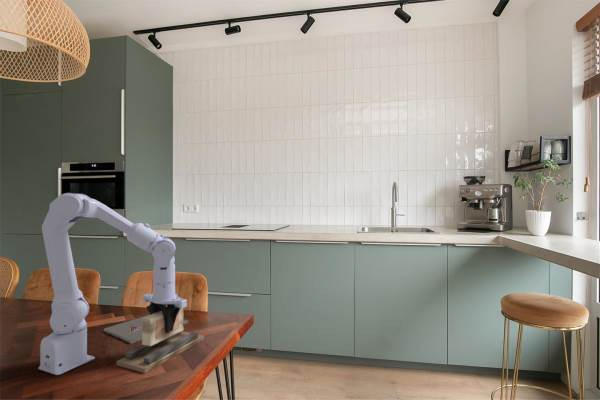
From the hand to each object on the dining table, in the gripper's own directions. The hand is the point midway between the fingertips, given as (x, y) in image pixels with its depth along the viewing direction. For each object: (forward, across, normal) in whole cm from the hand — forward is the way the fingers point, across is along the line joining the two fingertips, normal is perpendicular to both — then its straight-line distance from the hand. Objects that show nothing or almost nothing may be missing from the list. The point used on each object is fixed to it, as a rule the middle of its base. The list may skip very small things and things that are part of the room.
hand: (164, 330), depth 94 cm
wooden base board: (+6, 0, 0) cm, 6 cm away
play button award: (+7, +19, -11) cm, 23 cm away
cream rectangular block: (+2, 0, 0) cm, 2 cm away
